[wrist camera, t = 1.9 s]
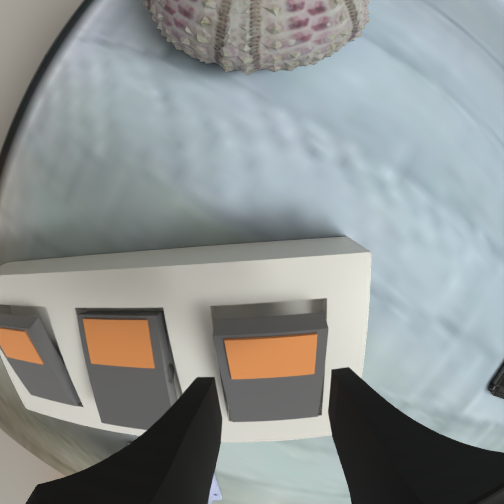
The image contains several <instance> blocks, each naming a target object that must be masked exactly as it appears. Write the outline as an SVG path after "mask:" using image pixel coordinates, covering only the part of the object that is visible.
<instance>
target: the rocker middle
mask: <svg viewBox="0 0 504 504" xmlns="http://www.w3.org/2000/svg"><path fill="white" fill-rule="evenodd" d="M77 320H78V326H79V332H80V338H81V343H82V348H83V353H84V358H85V362H86V367H87V371H88V375H89V380H90V384H91V387H92V391H93V395H94V399H95V402H96V406H97V409H98V412H99V416H100V419H101V422H102V423H105V424H110V425H116V426H122V427H128V428H135V429H143V430H148V429H149V428H150V427H151V426H152V425H153V424H154V423H155V422H156V421H157V420H158V419H159V418H161V417H162V416H163V415H164V414H165V412H166V411H167V410H168V409H169V408H170V407H171V406H172V405H173V404H174V403H175V402H176V401H177V395H176V389H175V384H174V367H173V365H172V363H171V359H170V352H169V345H168V338H167V331H166V323H165V315H164V311H86V312H83V313H80V314H78V315H77Z"/></svg>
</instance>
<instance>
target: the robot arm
mask: <svg viewBox="0 0 504 504" xmlns="http://www.w3.org/2000/svg"><path fill="white" fill-rule="evenodd" d="M328 415H329V421H330V426H331V432H332V437H333V440H334V443H335V446H336V449H337V452H338V456H339V459H340V462H341V465H342V468H343V471H344V474H345V477H346V481H347V484H348V488H349V492H350V497H351V502H352V504H504V453H502V452H496V451H490V450H485V449H481V448H478V447H474V446H470V445H467V444H464V443H461V442H458V441H456V440H453V439H451V438H448V437H446V436H444V435H441V434H439V433H437V432H435V431H433V430H431V429H429V428H427V427H425V426H423V425H422V424H420V423H418V422H416V421H415V420H413V419H411V418H410V417H408V416H407V415H405V414H404V413H402V412H401V411H400V410H398V409H397V408H395V407H394V406H393V405H391V404H390V403H389V402H388V401H386V400H385V399H384V398H383V397H382V396H380V395H379V394H378V393H377V392H376V391H375V390H373V389H372V388H371V387H370V386H369V385H368V384H367V383H366V382H365V381H363V380H362V379H361V378H360V377H359V376H358V375H357V374H356V373H355V372H354V371H353V370H352V369H350V368H349V367H346V368H339V369H331V383H330V395H329V406H328ZM221 433H222V414H221V409H220V403H219V398H218V393H217V387H216V382H215V377H197V378H196V379H195V380H194V381H193V382H192V383H191V384H190V386H189V387H188V388H187V389H186V390H185V391H184V393H183V394H182V395H181V396H180V397H179V398H178V400H177V401H176V402H175V403H174V404H173V405H172V406H171V407H170V408H169V409H168V410H167V411H166V412H165V414H164V415H163V416H162V417H161V418H159V419H158V420H157V421H156V422H155V423H154V424H153V425H152V426H151V427H150V428H149V429H148V430H147V431H145V432H144V433H143V434H142V435H141V436H139V437H138V438H137V439H136V440H134V441H133V442H132V443H128V444H127V446H126V447H125V448H123V449H122V450H120V451H118V452H117V453H115V454H113V455H112V456H110V457H108V458H106V459H105V460H103V461H101V462H99V463H97V464H95V465H93V466H91V467H89V468H87V469H85V470H82V471H80V472H77V473H75V474H72V475H70V476H67V477H64V478H61V479H57V480H53V481H50V482H46V483H42V484H38V485H37V486H36V487H35V489H34V491H33V492H32V494H31V496H30V497H29V499H28V501H27V502H26V504H212V501H213V500H221V499H222V495H221V492H220V489H219V486H218V483H217V480H216V477H215V474H214V471H215V467H216V462H217V458H218V453H219V448H220V443H221Z"/></svg>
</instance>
